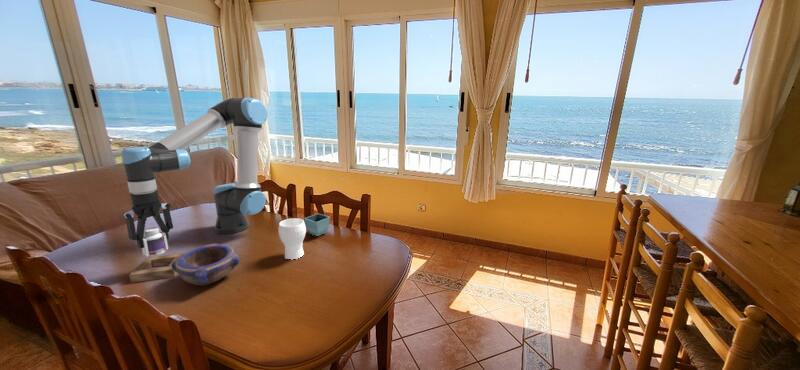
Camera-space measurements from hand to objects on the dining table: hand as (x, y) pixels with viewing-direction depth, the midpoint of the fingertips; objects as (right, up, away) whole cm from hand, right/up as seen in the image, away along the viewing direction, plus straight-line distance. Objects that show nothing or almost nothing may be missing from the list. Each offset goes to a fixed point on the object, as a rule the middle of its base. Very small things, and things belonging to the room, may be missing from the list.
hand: (156, 251), depth 111 cm
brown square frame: (0, -8, +2) cm, 8 cm away
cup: (+46, -5, +15) cm, 49 cm away
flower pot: (+51, 0, +36) cm, 62 cm away
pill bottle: (0, -1, 0) cm, 1 cm away
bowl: (+22, -9, -3) cm, 24 cm away
